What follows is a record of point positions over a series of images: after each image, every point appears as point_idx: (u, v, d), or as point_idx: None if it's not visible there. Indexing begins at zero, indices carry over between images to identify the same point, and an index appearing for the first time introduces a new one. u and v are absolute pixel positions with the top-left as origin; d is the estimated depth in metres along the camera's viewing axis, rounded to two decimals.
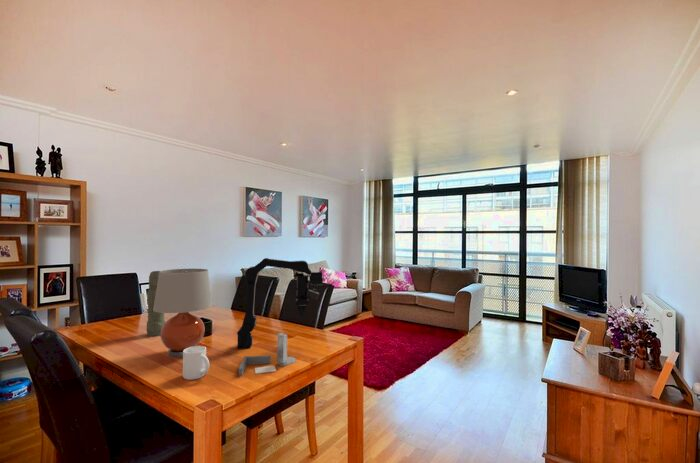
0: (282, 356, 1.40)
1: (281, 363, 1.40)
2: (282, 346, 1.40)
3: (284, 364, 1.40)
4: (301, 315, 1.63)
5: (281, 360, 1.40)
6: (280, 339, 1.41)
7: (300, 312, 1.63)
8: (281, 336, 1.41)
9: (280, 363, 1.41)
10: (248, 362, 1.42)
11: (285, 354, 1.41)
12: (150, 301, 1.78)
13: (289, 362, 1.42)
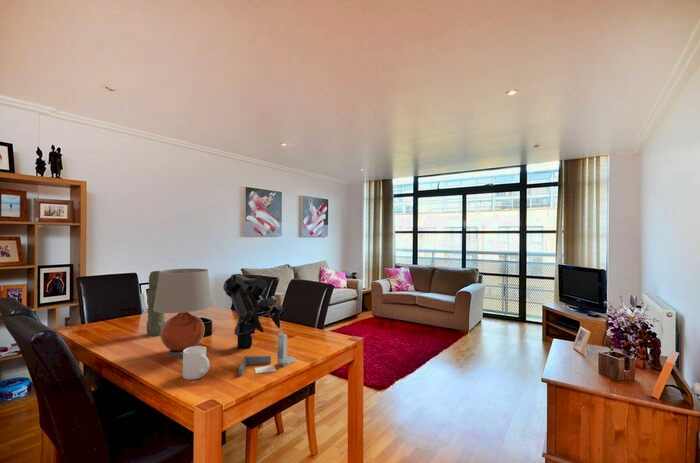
0: (282, 356, 1.40)
1: (281, 363, 1.40)
2: (282, 346, 1.40)
3: (284, 364, 1.40)
4: (260, 329, 1.44)
5: (281, 360, 1.40)
6: (280, 339, 1.41)
7: (256, 327, 1.45)
8: (281, 336, 1.41)
9: (280, 363, 1.41)
10: (248, 362, 1.42)
11: (285, 354, 1.41)
12: (150, 301, 1.78)
13: (289, 362, 1.42)
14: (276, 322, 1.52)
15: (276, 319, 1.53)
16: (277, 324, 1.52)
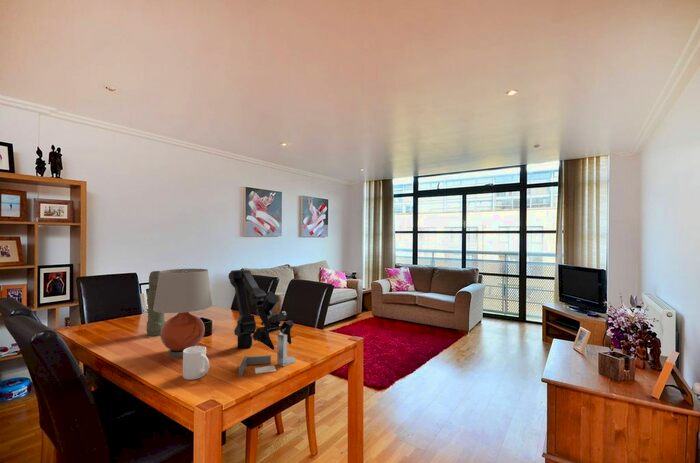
0: (282, 356, 1.40)
1: (281, 363, 1.40)
2: (282, 346, 1.40)
3: (284, 364, 1.40)
4: (270, 347, 1.38)
5: (281, 360, 1.40)
6: (280, 339, 1.41)
7: (267, 344, 1.39)
8: (281, 336, 1.41)
9: (280, 363, 1.41)
10: (248, 362, 1.42)
11: (285, 354, 1.41)
12: (150, 301, 1.78)
13: (289, 362, 1.42)
14: (287, 338, 1.47)
15: (287, 335, 1.47)
16: (288, 340, 1.46)
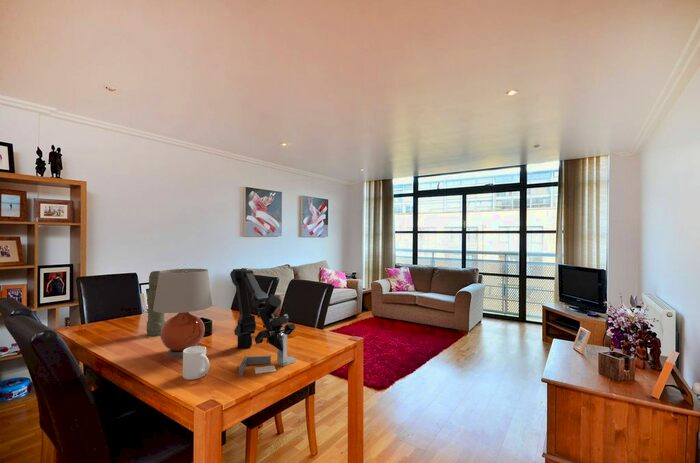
0: (282, 356, 1.40)
1: (281, 363, 1.40)
2: (283, 346, 1.40)
3: (284, 364, 1.40)
4: (279, 348, 1.40)
5: (281, 360, 1.40)
6: (280, 339, 1.41)
7: (275, 346, 1.41)
8: (281, 336, 1.41)
9: (280, 363, 1.41)
10: (248, 362, 1.42)
11: (285, 354, 1.41)
12: (150, 301, 1.78)
13: (289, 362, 1.42)
14: None
15: None
16: None
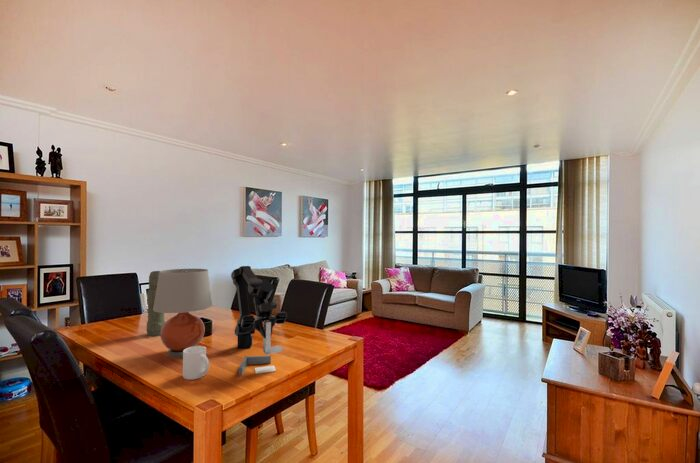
0: (265, 344, 1.35)
1: (265, 350, 1.36)
2: (265, 333, 1.35)
3: (267, 352, 1.35)
4: (262, 335, 1.36)
5: (265, 348, 1.36)
6: (264, 326, 1.37)
7: (260, 332, 1.37)
8: (265, 323, 1.36)
9: (264, 351, 1.36)
10: (248, 362, 1.42)
11: (268, 342, 1.35)
12: (150, 301, 1.78)
13: (274, 351, 1.36)
14: None
15: None
16: None
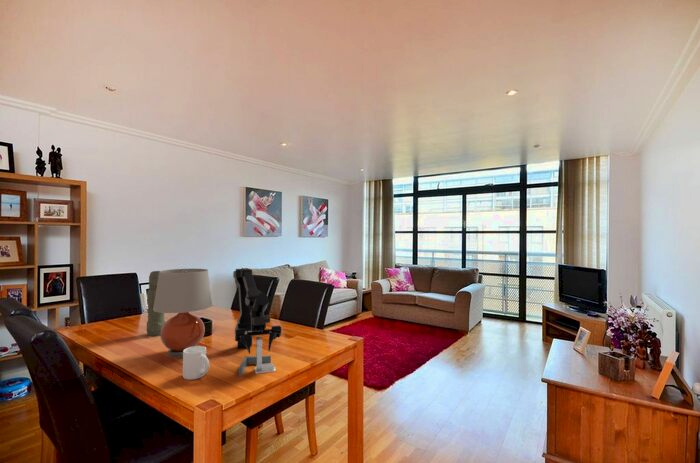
0: (256, 362, 1.33)
1: (256, 368, 1.34)
2: (257, 351, 1.33)
3: (258, 370, 1.33)
4: (248, 350, 1.33)
5: (256, 365, 1.34)
6: (256, 342, 1.35)
7: (246, 347, 1.35)
8: (256, 340, 1.34)
9: (256, 368, 1.34)
10: (248, 362, 1.42)
11: (260, 359, 1.33)
12: (150, 301, 1.78)
13: (265, 369, 1.34)
14: (268, 344, 1.37)
15: None
16: (268, 347, 1.36)
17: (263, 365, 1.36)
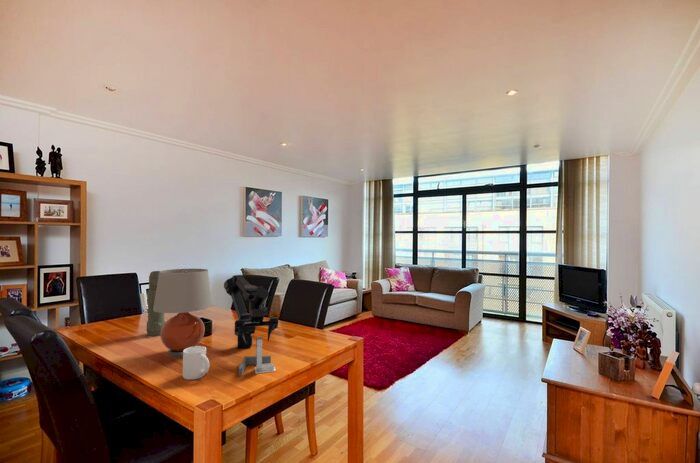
0: (256, 362, 1.33)
1: (256, 368, 1.34)
2: (257, 351, 1.33)
3: (258, 370, 1.33)
4: (244, 340, 1.42)
5: (256, 365, 1.34)
6: (256, 342, 1.35)
7: (243, 337, 1.43)
8: (256, 340, 1.34)
9: (256, 368, 1.34)
10: (248, 362, 1.42)
11: (260, 359, 1.33)
12: (150, 301, 1.78)
13: (265, 369, 1.34)
14: None
15: (268, 331, 1.47)
16: None
17: (263, 365, 1.36)
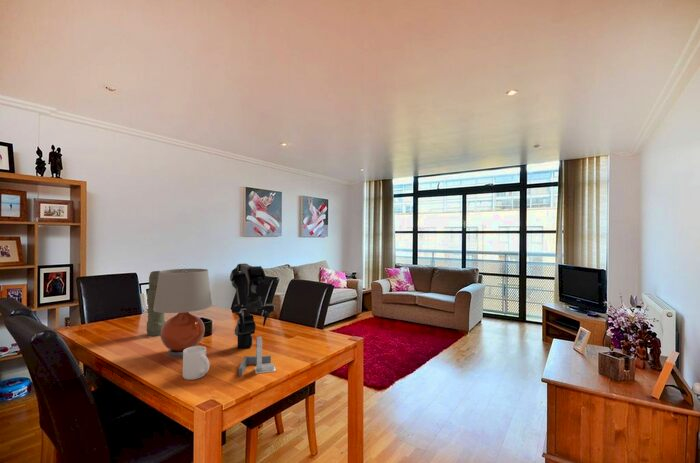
0: (256, 362, 1.33)
1: (256, 368, 1.34)
2: (257, 351, 1.33)
3: (258, 370, 1.33)
4: None
5: (256, 365, 1.34)
6: (256, 342, 1.35)
7: None
8: (256, 340, 1.34)
9: (256, 368, 1.34)
10: (248, 362, 1.42)
11: (260, 359, 1.33)
12: (150, 301, 1.78)
13: (265, 369, 1.34)
14: None
15: (264, 317, 1.54)
16: (263, 322, 1.54)
17: (263, 365, 1.36)
